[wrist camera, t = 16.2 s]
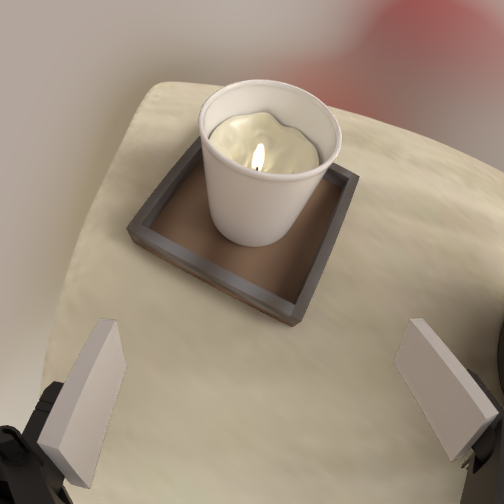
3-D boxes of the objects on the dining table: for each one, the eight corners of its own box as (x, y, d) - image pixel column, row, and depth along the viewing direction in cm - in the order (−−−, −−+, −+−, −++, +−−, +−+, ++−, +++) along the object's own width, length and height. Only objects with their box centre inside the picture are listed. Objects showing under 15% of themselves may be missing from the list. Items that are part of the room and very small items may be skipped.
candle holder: (230, 157, 33) (239, 66, 22) (313, 193, 32) (354, 111, 21) (183, 228, 29) (168, 139, 18) (278, 273, 28) (318, 203, 17)
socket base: (349, 191, 34) (359, 176, 31) (292, 327, 27) (301, 321, 24) (219, 130, 35) (220, 112, 33) (133, 242, 29) (126, 228, 26)
